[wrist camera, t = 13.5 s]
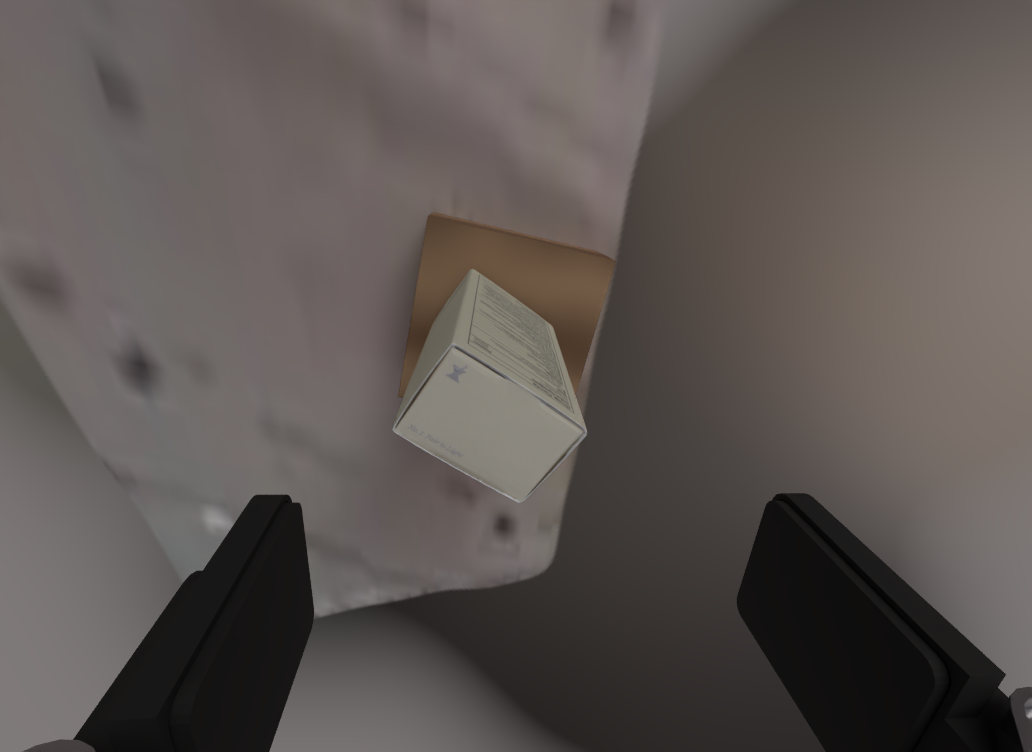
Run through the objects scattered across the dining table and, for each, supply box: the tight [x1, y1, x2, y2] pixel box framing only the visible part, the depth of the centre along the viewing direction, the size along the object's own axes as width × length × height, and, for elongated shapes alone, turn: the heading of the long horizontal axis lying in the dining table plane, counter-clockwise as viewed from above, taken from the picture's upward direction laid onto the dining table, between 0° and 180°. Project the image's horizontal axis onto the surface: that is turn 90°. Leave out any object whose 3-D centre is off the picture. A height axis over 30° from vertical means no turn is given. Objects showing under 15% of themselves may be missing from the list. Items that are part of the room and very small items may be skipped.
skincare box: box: [392, 269, 587, 503], centre depth 23 cm, size 6×4×12 cm
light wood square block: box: [398, 212, 616, 398], centre depth 31 cm, size 11×11×5 cm
